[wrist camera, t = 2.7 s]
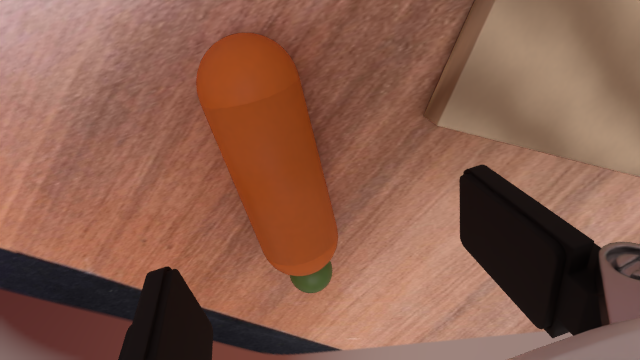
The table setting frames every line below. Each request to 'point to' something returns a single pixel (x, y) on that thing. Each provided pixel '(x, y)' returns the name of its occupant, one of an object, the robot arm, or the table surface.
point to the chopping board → (548, 79)
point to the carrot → (271, 153)
